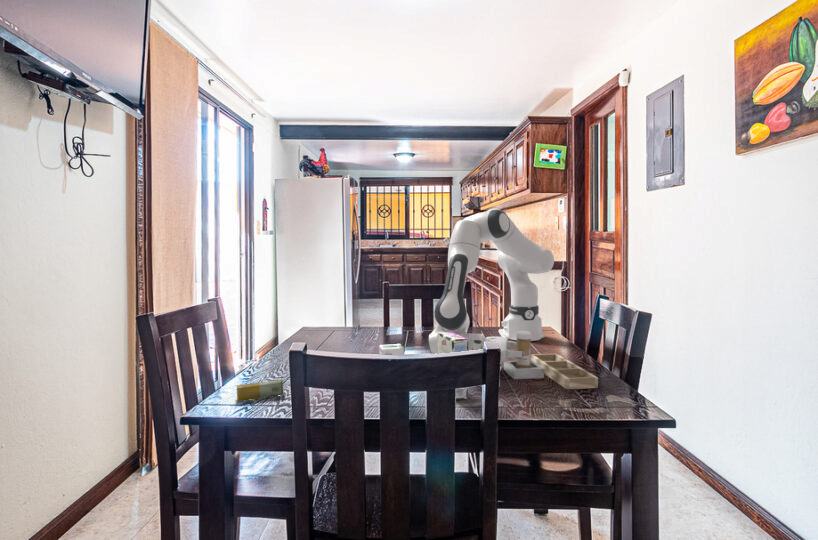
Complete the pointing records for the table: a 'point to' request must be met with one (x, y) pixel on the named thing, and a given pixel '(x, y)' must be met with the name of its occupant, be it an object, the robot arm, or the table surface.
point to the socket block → (524, 370)
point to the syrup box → (391, 349)
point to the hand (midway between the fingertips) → (522, 349)
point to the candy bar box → (453, 344)
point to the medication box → (259, 390)
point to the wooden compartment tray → (565, 372)
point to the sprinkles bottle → (523, 349)
